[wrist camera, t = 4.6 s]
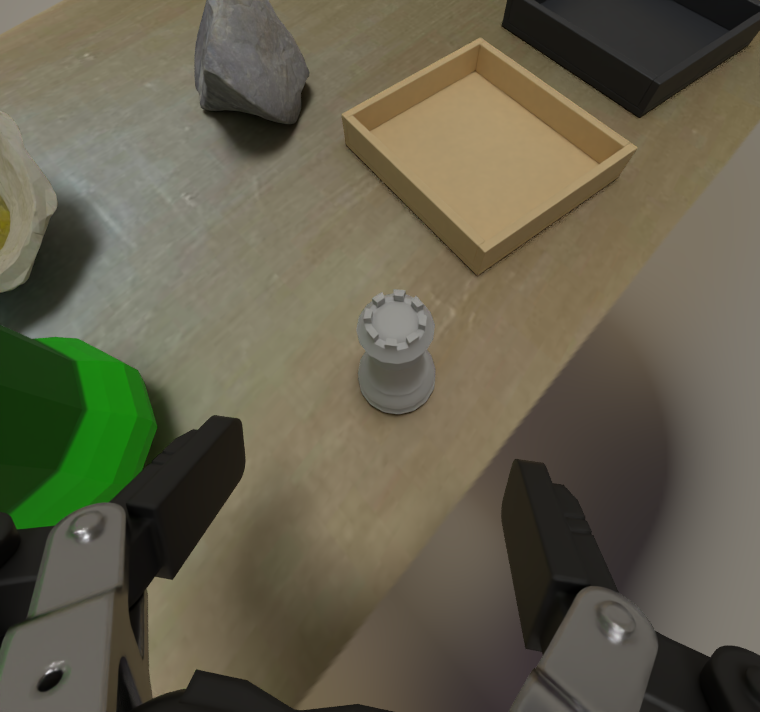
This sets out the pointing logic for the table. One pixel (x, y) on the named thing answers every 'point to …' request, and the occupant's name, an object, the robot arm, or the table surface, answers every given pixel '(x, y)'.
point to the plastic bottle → (67, 427)
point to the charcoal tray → (636, 41)
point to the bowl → (20, 207)
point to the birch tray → (484, 151)
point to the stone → (248, 61)
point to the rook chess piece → (396, 352)
